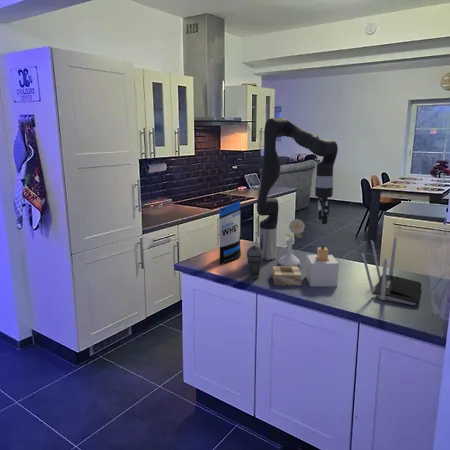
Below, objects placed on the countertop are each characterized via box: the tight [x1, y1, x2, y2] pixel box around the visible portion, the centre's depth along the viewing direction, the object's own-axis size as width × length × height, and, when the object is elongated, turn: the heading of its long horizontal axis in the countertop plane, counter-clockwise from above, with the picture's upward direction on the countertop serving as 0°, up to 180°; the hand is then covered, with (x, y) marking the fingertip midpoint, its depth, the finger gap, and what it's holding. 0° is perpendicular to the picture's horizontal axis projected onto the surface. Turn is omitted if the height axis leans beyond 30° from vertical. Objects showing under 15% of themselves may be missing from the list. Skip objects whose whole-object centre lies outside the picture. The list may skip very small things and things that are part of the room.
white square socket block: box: [305, 254, 340, 287], centre depth 182 cm, size 12×12×11 cm
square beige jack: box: [271, 265, 303, 287], centre depth 184 cm, size 12×12×5 cm
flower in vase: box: [277, 218, 306, 267], centre depth 202 cm, size 13×11×25 cm
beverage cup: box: [246, 237, 262, 280], centre depth 187 cm, size 7×7×20 cm
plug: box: [316, 243, 329, 261], centre depth 180 cm, size 4×4×10 cm
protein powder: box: [218, 200, 242, 265], centre depth 213 cm, size 10×24×30 cm, turn 152°
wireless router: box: [361, 237, 422, 306], centre depth 169 cm, size 34×23×20 cm
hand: (322, 221), depth 177 cm, fingers open, 8 cm apart
